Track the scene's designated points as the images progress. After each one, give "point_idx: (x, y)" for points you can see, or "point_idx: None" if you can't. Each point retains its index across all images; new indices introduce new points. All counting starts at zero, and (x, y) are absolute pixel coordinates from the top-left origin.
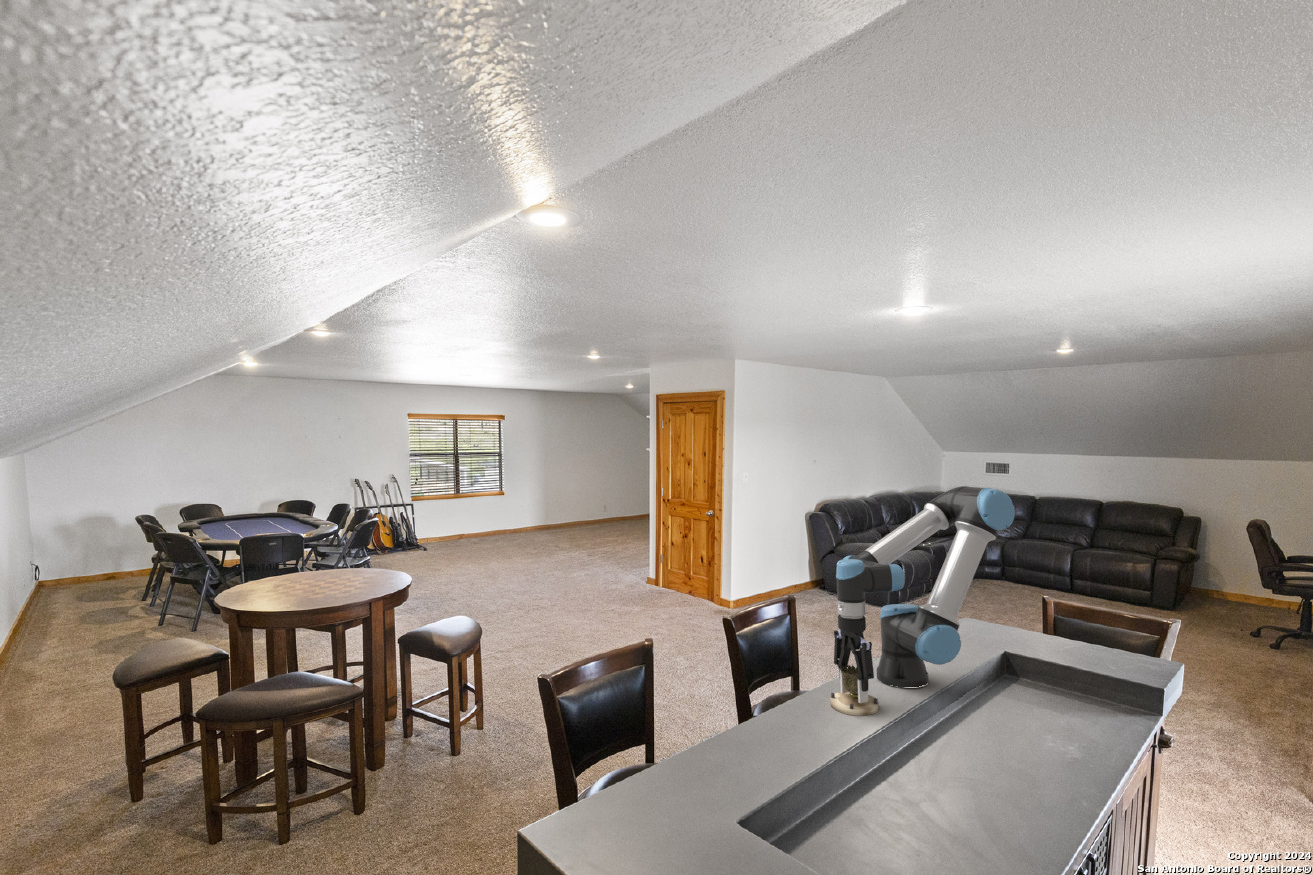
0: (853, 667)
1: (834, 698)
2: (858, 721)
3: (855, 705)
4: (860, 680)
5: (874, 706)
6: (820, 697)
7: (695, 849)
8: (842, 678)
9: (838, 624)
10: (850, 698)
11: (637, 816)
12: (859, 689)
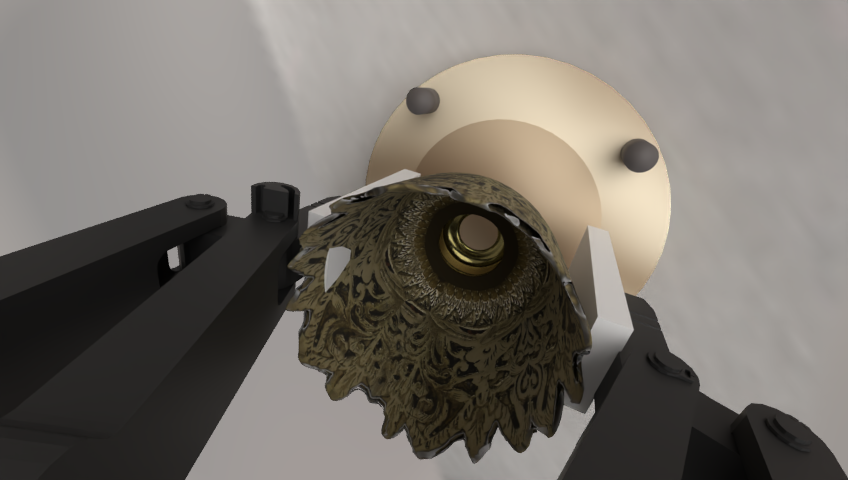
0: (513, 427)
1: (615, 147)
2: (359, 48)
3: (439, 156)
4: (316, 220)
5: None
6: (780, 156)
7: None
8: (525, 207)
9: None
10: None
11: None
12: (363, 189)
